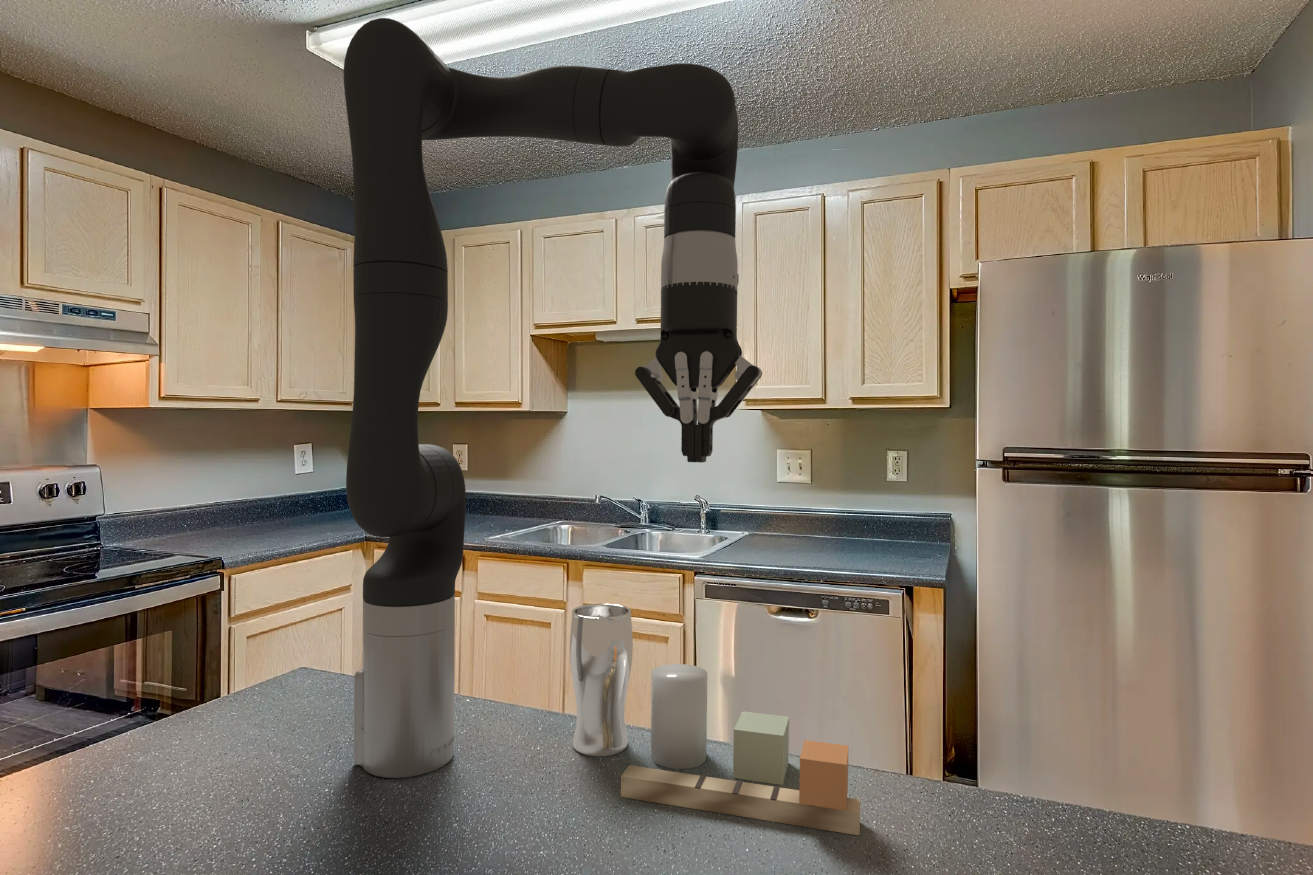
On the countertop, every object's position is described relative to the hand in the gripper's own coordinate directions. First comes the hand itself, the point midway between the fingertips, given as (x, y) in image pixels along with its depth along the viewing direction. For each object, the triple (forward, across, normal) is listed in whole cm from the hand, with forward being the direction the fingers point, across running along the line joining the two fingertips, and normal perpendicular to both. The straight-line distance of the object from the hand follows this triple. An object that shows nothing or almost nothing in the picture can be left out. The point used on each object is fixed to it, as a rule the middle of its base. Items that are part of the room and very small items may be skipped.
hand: (697, 461), depth 73 cm
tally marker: (+30, +13, -4) cm, 32 cm away
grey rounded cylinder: (+32, -3, +6) cm, 33 cm away
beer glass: (+32, -12, +6) cm, 35 cm away
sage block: (+32, +6, +5) cm, 33 cm away
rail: (+32, +5, -4) cm, 33 cm away
